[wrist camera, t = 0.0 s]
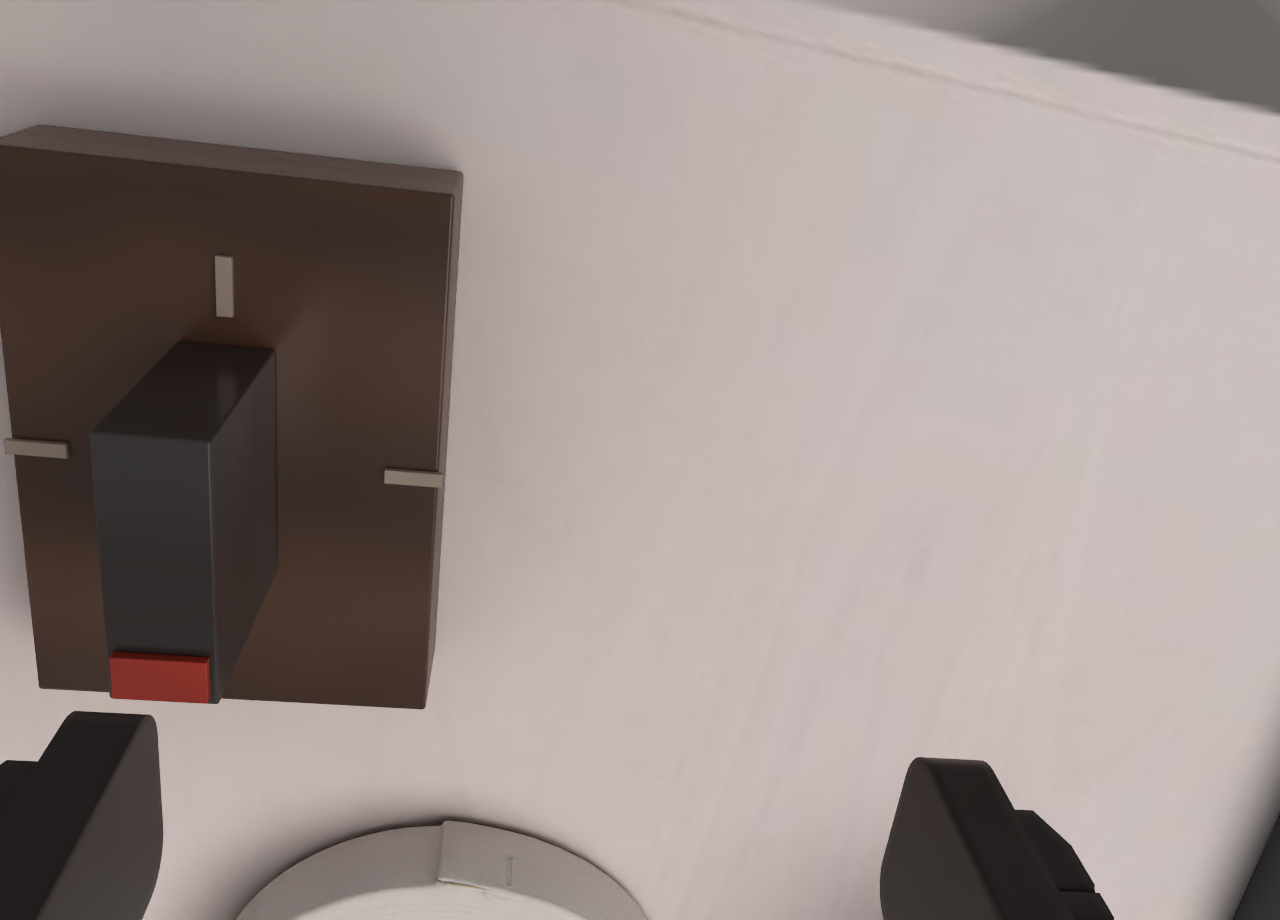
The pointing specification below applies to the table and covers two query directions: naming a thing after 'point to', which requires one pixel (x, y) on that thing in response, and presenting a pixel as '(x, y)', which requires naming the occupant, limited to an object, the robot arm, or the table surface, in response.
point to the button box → (1264, 885)
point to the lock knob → (186, 520)
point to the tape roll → (443, 880)
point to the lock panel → (304, 383)
